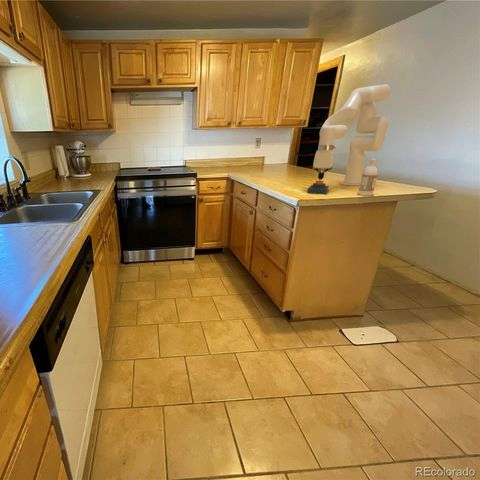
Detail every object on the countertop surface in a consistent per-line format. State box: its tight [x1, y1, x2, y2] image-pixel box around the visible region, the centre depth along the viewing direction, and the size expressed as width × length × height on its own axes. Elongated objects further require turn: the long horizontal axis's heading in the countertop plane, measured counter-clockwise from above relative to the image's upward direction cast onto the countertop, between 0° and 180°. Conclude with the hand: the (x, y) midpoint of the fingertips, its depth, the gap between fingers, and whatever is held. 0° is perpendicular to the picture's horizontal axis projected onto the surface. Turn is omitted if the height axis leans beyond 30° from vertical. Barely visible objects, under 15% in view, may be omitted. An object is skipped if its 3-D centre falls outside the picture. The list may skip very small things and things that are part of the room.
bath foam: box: [357, 158, 379, 196], centre depth 151 cm, size 7×7×20 cm
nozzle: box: [315, 180, 324, 184], centre depth 165 cm, size 4×4×2 cm
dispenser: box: [307, 182, 330, 195], centre depth 166 cm, size 13×10×5 cm
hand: (320, 179), depth 164 cm, fingers closed
